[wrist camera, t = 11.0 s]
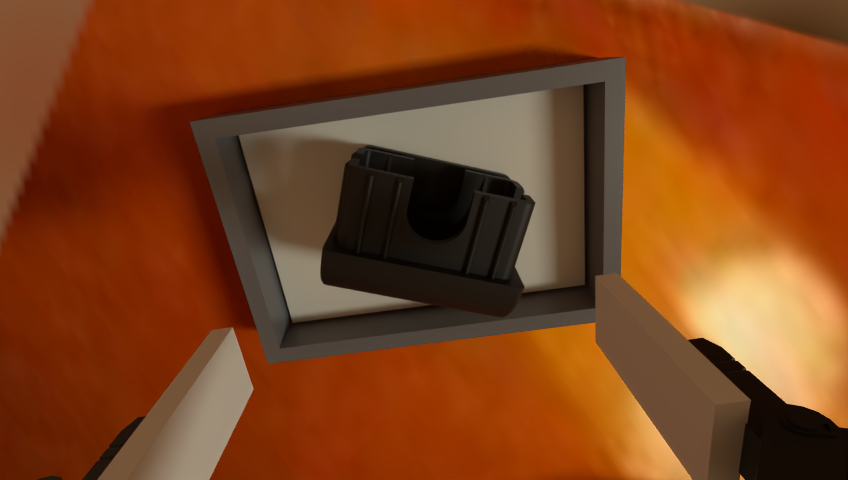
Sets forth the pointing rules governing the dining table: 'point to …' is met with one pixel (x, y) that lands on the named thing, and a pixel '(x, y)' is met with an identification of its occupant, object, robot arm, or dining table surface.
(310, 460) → the dining table surface
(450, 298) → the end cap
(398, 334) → the shallow grey tray
